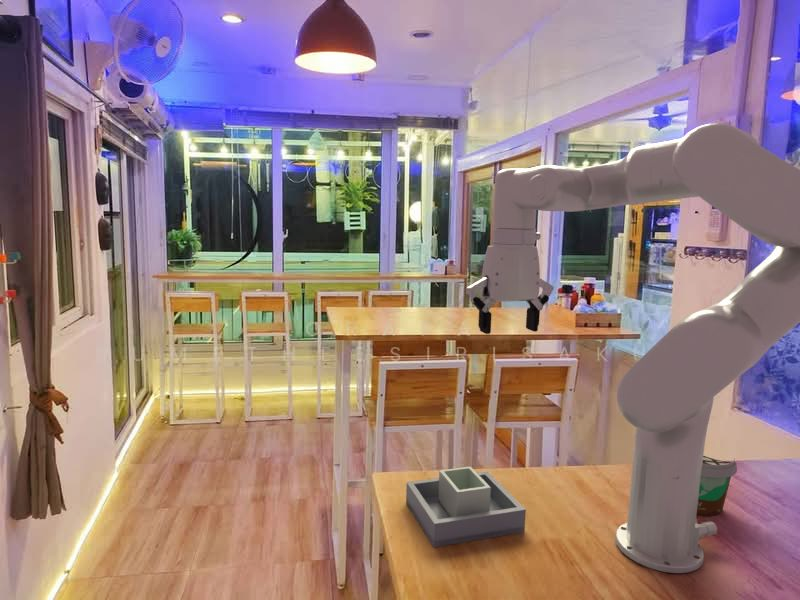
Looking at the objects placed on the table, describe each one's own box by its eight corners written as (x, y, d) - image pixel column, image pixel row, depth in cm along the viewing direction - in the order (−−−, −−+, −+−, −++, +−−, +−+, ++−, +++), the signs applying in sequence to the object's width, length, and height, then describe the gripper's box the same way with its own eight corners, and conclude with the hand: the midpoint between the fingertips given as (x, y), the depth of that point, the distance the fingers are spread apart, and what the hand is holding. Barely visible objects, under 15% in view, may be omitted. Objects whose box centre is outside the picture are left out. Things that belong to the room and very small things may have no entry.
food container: (654, 509, 100) (659, 456, 99) (656, 494, 105) (661, 444, 104) (734, 528, 94) (740, 472, 93) (732, 511, 100) (738, 458, 98)
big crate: (486, 491, 105) (487, 471, 105) (524, 531, 92) (525, 509, 91) (406, 502, 100) (406, 482, 100) (433, 547, 87) (434, 523, 87)
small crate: (469, 497, 101) (470, 466, 100) (489, 521, 93) (490, 487, 92) (438, 502, 99) (439, 470, 98) (456, 526, 91) (457, 492, 90)
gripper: (544, 238, 107) (538, 325, 110) (461, 237, 102) (457, 329, 104) (566, 240, 100) (560, 333, 103) (478, 239, 95) (474, 337, 97)
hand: (508, 331), depth 104 cm, fingers open, 9 cm apart
